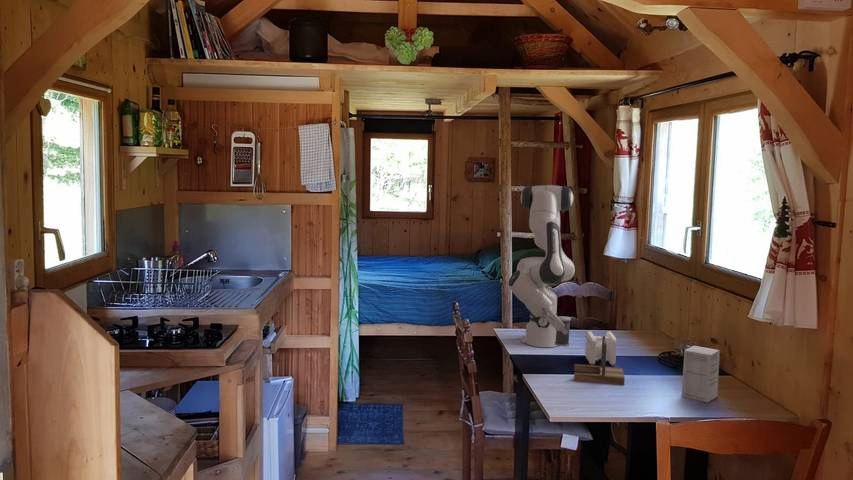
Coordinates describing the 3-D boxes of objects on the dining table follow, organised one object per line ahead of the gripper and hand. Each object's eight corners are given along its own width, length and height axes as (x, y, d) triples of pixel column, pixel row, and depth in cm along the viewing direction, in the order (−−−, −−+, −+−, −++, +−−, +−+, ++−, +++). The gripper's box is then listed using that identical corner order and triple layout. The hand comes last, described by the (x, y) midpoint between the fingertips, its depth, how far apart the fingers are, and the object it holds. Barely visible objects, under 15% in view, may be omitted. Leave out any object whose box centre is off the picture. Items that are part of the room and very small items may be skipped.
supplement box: (717, 396, 241) (721, 350, 240) (708, 403, 235) (711, 355, 233) (690, 390, 248) (693, 344, 246) (680, 396, 241) (683, 349, 239)
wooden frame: (574, 370, 269) (575, 333, 267) (621, 374, 265) (624, 337, 263) (574, 380, 256) (575, 342, 254) (624, 384, 252) (626, 346, 251)
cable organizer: (616, 368, 273) (617, 339, 272) (589, 366, 274) (590, 338, 273) (608, 357, 288) (610, 330, 287) (583, 356, 289) (584, 329, 288)
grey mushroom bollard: (554, 341, 273) (556, 315, 272) (569, 343, 272) (571, 316, 271) (554, 345, 268) (555, 319, 266) (569, 347, 267) (571, 320, 265)
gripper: (552, 306, 257) (576, 332, 259) (541, 295, 277) (564, 319, 279) (539, 318, 258) (564, 343, 259) (530, 305, 278) (553, 329, 279)
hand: (564, 330), depth 269 cm, fingers closed on grey mushroom bollard, 5 cm apart
